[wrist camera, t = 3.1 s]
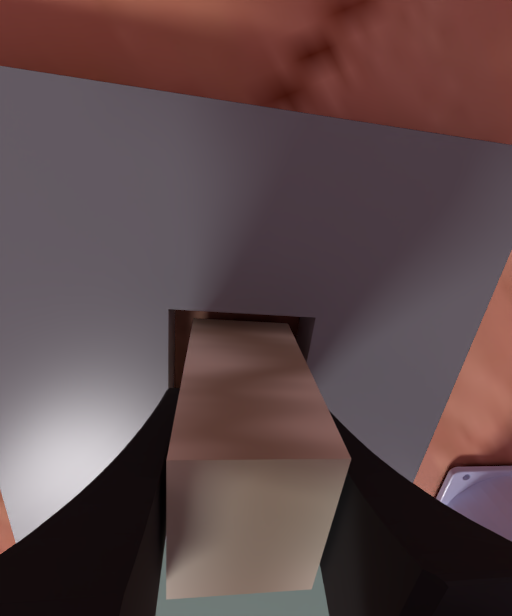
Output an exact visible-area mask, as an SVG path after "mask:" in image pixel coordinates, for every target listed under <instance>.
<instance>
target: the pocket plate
mask: <svg viewBox="0 0 512 616" xmlns="http://www.w3.org/2000/svg"><path fill="white" fill-rule="evenodd" d="M511 250H512V145H508V144H502V143H496V142H489V141H483V140H476V139H470V138H463V137H457V136H450V135H444V134H437V133H431V132H424V131H418V130H412V129H405V128H399V127H392V126H386V125H379V124H373V123H366V122H360V121H353V120H347V119H340V118H334V117H328V116H321V115H315V114H308V113H302V112H295V111H289V110H282V109H276V108H269V107H263V106H256V105H250V104H244V103H237V102H231V101H224V100H218V99H211V98H205V97H198V96H192V95H185V94H179V93H172V92H166V91H160V90H153V89H147V88H140V87H134V86H127V85H121V84H114V83H108V82H101V81H95V80H88V79H82V78H76V77H69V76H63V75H56V74H50V73H43V72H37V71H30V70H24V69H17V68H11V67H4V66H0V489H1V493H2V496H3V500H4V503H5V507H6V510H7V514H8V517H9V521H10V524H11V528H12V531H13V535H14V538H15V542H16V543H17V542H19V541H20V540H22V539H23V538H24V537H26V536H27V535H28V534H30V533H31V532H32V531H34V530H35V529H36V528H37V527H39V526H40V525H41V524H42V523H44V522H45V521H46V520H47V519H49V518H50V517H51V516H52V515H54V514H55V513H56V512H57V511H58V510H60V509H61V508H62V507H63V506H65V505H66V504H67V503H68V502H69V501H71V500H72V499H73V498H74V497H75V496H76V495H78V494H79V493H80V492H81V491H82V490H83V489H84V488H85V487H86V486H87V485H88V484H90V483H91V482H92V481H93V480H94V479H95V478H96V477H97V476H98V475H99V474H100V473H101V472H102V471H103V470H104V469H105V468H106V467H107V466H108V465H109V464H110V463H111V462H112V461H113V460H114V459H115V458H116V457H117V456H118V455H119V453H120V452H121V451H122V450H123V449H124V448H125V447H126V445H127V444H128V443H129V442H130V441H131V440H132V438H133V437H134V436H135V435H136V434H137V432H138V431H139V430H140V429H141V427H142V426H143V425H144V423H145V422H146V421H147V419H148V418H149V417H150V415H151V414H152V413H153V411H154V410H155V408H156V407H157V405H158V404H159V402H160V401H161V399H162V397H163V396H164V394H165V392H166V390H168V389H169V388H174V376H175V310H192V311H209V312H227V313H244V314H262V315H279V316H297V317H300V319H299V325H298V330H297V336H296V342H297V344H298V346H299V348H300V350H301V352H302V354H303V357H304V359H305V361H306V363H307V365H308V367H309V369H310V372H311V374H312V376H313V378H314V380H315V382H316V384H317V386H318V389H319V391H320V393H321V395H322V397H323V399H324V401H325V404H326V406H327V408H328V410H329V411H330V412H331V413H332V414H333V415H334V416H335V417H336V418H337V419H338V420H339V421H340V422H341V423H342V424H343V425H344V426H345V427H346V428H347V429H348V430H349V431H350V432H351V433H352V434H353V435H354V436H355V437H356V438H357V439H358V440H360V441H361V442H362V443H363V444H364V445H365V446H366V447H367V448H368V449H370V450H371V451H372V452H373V453H374V454H375V455H377V456H378V457H379V458H380V459H381V460H383V461H384V462H385V463H386V464H388V465H389V466H390V467H392V468H393V469H394V470H395V471H397V472H398V473H399V474H401V475H402V476H403V477H405V478H406V479H407V480H409V481H410V482H412V483H413V481H414V479H415V477H416V474H417V472H418V470H419V467H420V465H421V462H422V460H423V458H424V455H425V453H426V451H427V448H428V446H429V444H430V441H431V439H432V436H433V434H434V432H435V429H436V427H437V425H438V422H439V420H440V418H441V415H442V413H443V410H444V408H445V406H446V403H447V401H448V399H449V396H450V394H451V392H452V389H453V387H454V384H455V382H456V380H457V377H458V375H459V373H460V370H461V368H462V366H463V363H464V361H465V358H466V356H467V354H468V351H469V349H470V347H471V344H472V342H473V340H474V337H475V335H476V332H477V330H478V328H479V325H480V323H481V321H482V318H483V316H484V314H485V311H486V309H487V306H488V304H489V302H490V299H491V297H492V295H493V292H494V290H495V288H496V285H497V283H498V280H499V278H500V276H501V273H502V271H503V269H504V266H505V264H506V262H507V259H508V257H509V255H510V252H511ZM165 542H166V540H165Z"/></svg>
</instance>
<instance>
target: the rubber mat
mask: <svg viewBox="0 0 512 616" xmlns="http://www.w3.org/2000/svg"><path fill="white" fill-rule="evenodd" d="M155 616H329V612H328V606H327V600H326V595H325V590H324V584H323V579H322V573H321V568H320V564H319V567H318V570H317V574H316V577H315V580H314V583H313V587H312V589H309V590H295V591H281V592H267V593H252V594H238V595H224V596H210V597H196V598H181V599H167V600H166V542H165V547H164V554H163V562H162V569H161V576H160V584H159V592H158V600H157V607H156V615H155Z"/></svg>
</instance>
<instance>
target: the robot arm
mask: <svg viewBox="0 0 512 616" xmlns="http://www.w3.org/2000/svg"><path fill="white" fill-rule="evenodd" d="M179 391H180V388H169V389H168V390H166V392H165V394H164V396H163V397H162V399H161V401H160V402H159V404H158V405H157V407H156V408H155V410H154V411H153V413H152V414H151V415H150V417H149V418H148V419H147V421H146V422H145V423H144V425H143V426H142V427H141V429H140V430H139V431H138V432H137V434H136V435H135V436H134V437H133V438H132V440H131V441H130V442H129V443H128V444H127V445H126V447H125V448H124V449H123V450H122V451H121V452H120V453H119V455H118V456H117V457H116V458H115V459H114V460H113V461H112V462H111V463H110V464H109V465H108V466H107V467H106V468H105V469H104V470H103V471H102V472H101V473H100V474H99V475H98V476H97V477H96V478H95V479H94V480H93V481H92V482H91V483H90V484H88V485H87V486H86V487H85V488H84V489H83V490H82V491H81V492H80V493H79V494H78V495H76V496H75V497H74V498H73V499H72V500H71V501H69V502H68V503H67V504H66V505H65V506H63V507H62V508H61V509H60V510H58V511H57V512H56V513H55V514H54V515H52V516H51V517H50V518H49V519H47V520H46V521H45V522H44V523H42V524H41V525H40V526H39V527H37V528H36V529H35V530H34V531H32V532H31V533H30V534H28V535H27V536H26V537H24V538H23V539H22V540H20V541H19V542H17V543H16V544H14V545H13V546H12V547H10V548H9V549H7V550H6V551H5V552H3V553H2V554H0V616H155V615H156V607H157V600H158V592H159V584H160V576H161V569H162V562H163V554H164V547H165V540H166V460H167V455H168V449H169V444H170V439H171V434H172V428H173V423H174V418H175V413H176V407H177V402H178V397H179ZM329 412H330V411H329ZM330 414H331V416H332V418H333V421H334V423H335V425H336V427H337V429H338V431H339V433H340V435H341V438H342V440H343V442H344V444H345V446H346V448H347V450H348V453H349V455H350V457H351V462H350V465H349V468H348V472H347V475H346V478H345V481H344V485H343V488H342V491H341V495H340V498H339V501H338V505H337V508H336V511H335V514H334V518H333V521H332V524H331V528H330V531H329V534H328V537H327V541H326V544H325V547H324V551H323V554H322V557H321V560H320V568H321V573H322V579H323V584H324V590H325V595H326V600H327V606H328V612H329V616H512V466H470V467H454V468H452V469H451V470H450V471H449V472H448V474H447V476H446V478H445V480H444V482H443V485H442V487H441V489H440V491H439V493H438V495H437V497H436V498H434V497H432V496H431V495H429V494H428V493H426V492H425V491H423V490H422V489H421V488H419V487H418V486H416V485H415V484H413V483H412V482H410V481H409V480H407V479H406V478H405V477H403V476H402V475H401V474H399V473H398V472H397V471H395V470H394V469H393V468H392V467H390V466H389V465H388V464H386V463H385V462H384V461H383V460H381V459H380V458H379V457H378V456H377V455H375V454H374V453H373V452H372V451H371V450H370V449H368V448H367V447H366V446H365V445H364V444H363V443H362V442H361V441H360V440H358V439H357V438H356V437H355V436H354V435H353V434H352V433H351V432H350V431H349V430H348V429H347V428H346V427H345V426H344V425H343V424H342V423H341V422H340V421H339V420H338V419H337V418H336V417H335V416H334V415H333V414H332V413H331V412H330Z"/></svg>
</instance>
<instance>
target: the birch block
mask: <svg viewBox="0 0 512 616" xmlns="http://www.w3.org/2000/svg"><path fill="white" fill-rule="evenodd" d="M350 462H351V457H350V455H349V453H348V450H347V448H346V446H345V444H344V442H343V440H342V438H341V435H340V433H339V431H338V429H337V427H336V425H335V423H334V421H333V418H332V416H331V414H330V412H329V410H328V408H327V406H326V404H325V401H324V399H323V397H322V395H321V393H320V391H319V389H318V386H317V384H316V382H315V380H314V378H313V376H312V374H311V372H310V369H309V367H308V365H307V363H306V361H305V359H304V357H303V354H302V352H301V350H300V348H299V346H298V344H297V342H296V340H295V337H294V335H293V333H292V331H291V329H290V327H289V325H288V323H271V322H253V321H235V320H216V319H198V318H193V323H192V328H191V334H190V339H189V344H188V349H187V355H186V360H185V365H184V370H183V376H182V381H181V386H180V391H179V397H178V402H177V407H176V413H175V418H174V423H173V428H172V434H171V439H170V444H169V449H168V455H167V460H166V600H167V599H181V598H196V597H210V596H224V595H238V594H252V593H267V592H281V591H295V590H309V589H312V587H313V583H314V580H315V577H316V574H317V570H318V567H319V564H320V560H321V557H322V554H323V551H324V547H325V544H326V541H327V537H328V534H329V531H330V528H331V524H332V521H333V518H334V514H335V511H336V508H337V505H338V501H339V498H340V495H341V491H342V488H343V485H344V481H345V478H346V475H347V472H348V468H349V465H350Z"/></svg>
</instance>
